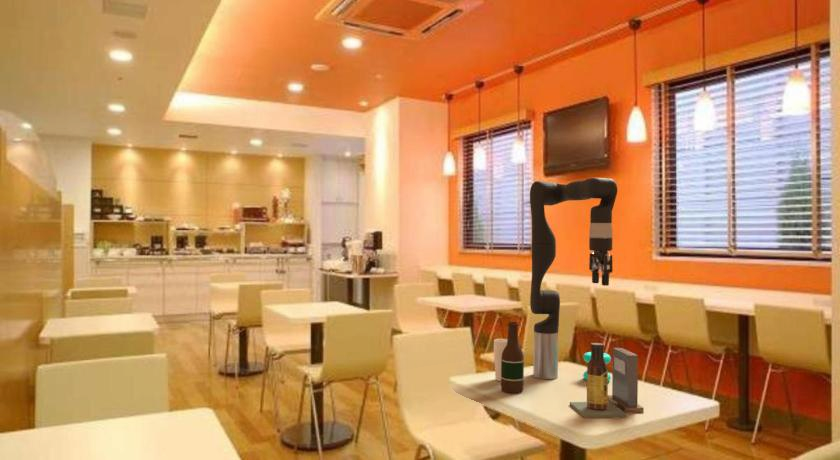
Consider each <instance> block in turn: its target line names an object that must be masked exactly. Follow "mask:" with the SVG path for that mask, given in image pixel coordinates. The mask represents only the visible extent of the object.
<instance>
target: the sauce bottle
mask: <svg viewBox="0 0 840 460" xmlns="http://www.w3.org/2000/svg"><path fill="white" fill-rule="evenodd" d="M604 349H605V345H604V343H602V342H601V343H600V342H591V343H590V352H591V360H590V361H589V363H588V362H587V366H586V369H587V370H586V371H587V380H586V402H587V406H588V407H589V408H591V409H594V410H604V409H606V408H607V403H608V402H609V401H608V395H609V394H608V392H609V389H608V387H609V385H608V382H609V381H608V373H609V372H608V366H607V364H605V361H604V356H603V353H605V352H604Z"/></svg>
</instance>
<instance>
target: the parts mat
mask: <svg viewBox="0 0 840 460" xmlns="http://www.w3.org/2000/svg"><path fill="white" fill-rule="evenodd" d="M569 406H570V407H571V408H572V409H573V410H575V411H576V412H577V413H578V414H579V415H580V414H581V415H580V416H582V417H583V418H584V419H598V418H599V419H601V418H603V419H604V418H605V419H606V418H607V419H608V418H609V417H619V418H627V413H624V412H623V411H622V410H620V409H619V408H617V407H616V406H615V405H613V404H612V403H610V402H609V401H608V403H607V408H606V409H604V410H594V409H591V408H589V407H588V406H587V401H570V402H569ZM609 419H610V418H609Z"/></svg>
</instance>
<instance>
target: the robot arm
mask: <svg viewBox="0 0 840 460" xmlns="http://www.w3.org/2000/svg"><path fill="white" fill-rule="evenodd" d="M617 196H618V185H617V183H616V181H615V180H614V179H613V178H606V177H589V178H586V179H583V180H574V181H570V182H568V183H567V184H566V183H565V184H562V183H557V182H554V181H542V180H541V181H540V180H537V181H534V182H533V183H532V184H531V187H530V190H529V203H530V215H531V216H530V217H531V281H530V282H531V284H530V295H529V296H530V297H529V303H530V304H529V305H530V310H531V313H532V314H534V315H547V317H546V318H545V319H543V320H541V321H539V322H536V323H534V325H533V375H532V376H533V377H535V378H536V379H543V380H554V379H555V380H556V379H557V378H558V377H559V376H558V375H559V372H558V371H559V326H560V325H559V324H560V307H561V299H560V298H561V297H560V294H559V292H558V291H557V290H554V289H551V290H549V289H542V287H541V286H542V282H543V280H544V277H545V275H546V274H547V272H548V270H549V268H550V267H551V266H552V264H553V263H554V261H555V258H556V253H557V240H556V237H555V234H554V232H553V230H552V228H551V227H550V225H549V223H548V221H547V217H546V212H545V206H549V207H550V206H555V205H557V204H561V203H564V202H567V201H585V200H587V201H588V200H590V199H599V200H600V201H599V204H598V205H594V206H592V207H591V208H590V215H589V218H590V220H589V222H590V223H589V231H588V232H589V233H588V234H589V235H588V236H589V237H588V238H589V241H588V243H589V244H588V246H589V247H588V248H589V251H593V252H590V253H589V259H588V260H589V261H588V262H589V263H588V264H589V266H588V269H589V271H590V272H591V274H592V275H591V283H592V284H599V283H600V271H601V285H602V286H604V287H605V286H607V287H608V286H609V285H610V274H612V273H613V254H609V253H608V252H611V251H613V231H614V230H613V222H612V221H613V209H614V206H615V202H616V198H617Z"/></svg>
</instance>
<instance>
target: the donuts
mask: <svg viewBox="0 0 840 460" xmlns="http://www.w3.org/2000/svg"><path fill="white" fill-rule="evenodd" d="M603 356H604V361H605V364H606V365H607V364H609V363H610V362H611V360H612V357H611V356H610V354H608V353H606V352H603ZM582 358H583V360H584V361H585V362H586V363H587V364H588V363H589V361H590V360H591V351H589V352H588V351H587V352H585V353H584V354H583V356H582ZM582 377H583V379H584V380H585V381H587V370H585V371H583V374H582ZM611 379H612V376H611V374H610V373H609V372H608V382H610V380H611Z"/></svg>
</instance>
